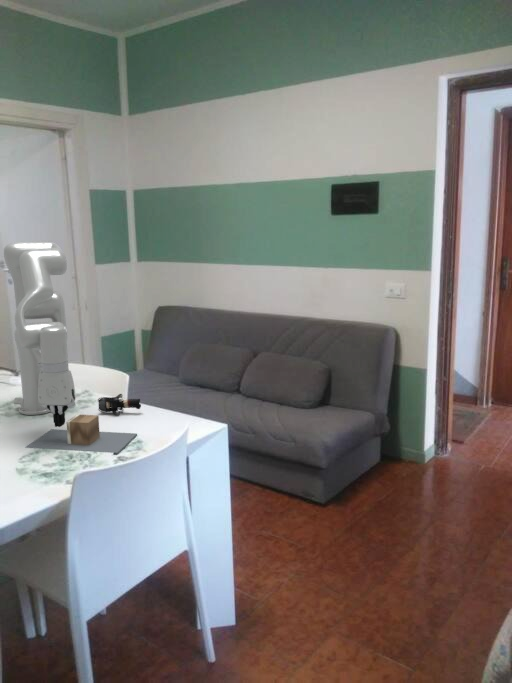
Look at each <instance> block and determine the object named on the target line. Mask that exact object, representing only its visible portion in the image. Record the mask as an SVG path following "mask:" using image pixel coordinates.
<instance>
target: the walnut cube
mask: <svg viewBox="0 0 512 683" xmlns="http://www.w3.org/2000/svg"><path fill="white" fill-rule="evenodd" d="M65 422H66V430H67V438H68V444H78V445H91V444H92V443H93V442H94V441H95V440H97V439H98V438H99V437H100V433H99V432H100V420H99V415H94V414H79V413H78V414H76V415H74V416H73V417H71V418H69V419H68V420H67V421H65Z"/></svg>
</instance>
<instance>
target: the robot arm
mask: <svg viewBox="0 0 512 683" xmlns="http://www.w3.org/2000/svg"><path fill="white" fill-rule="evenodd" d="M3 257H4V262H5V265H6V268H7V270H8V272H9V274H10V276H11V278H12V279H11V280H12V281H13V290H14V298H15V300H14V301H15V314H14V321H15V322H14V324H15V330H14V333H13V334H14V341H15V346H16V349H17V353H18V360H19V370H20V379H21V382H20V383H21V391H22V397H15V398H14V401H13V404H14V405H20V407H19V409H18V411H19V413H20V414H22V415H25V416H35V415H36V416H37V415H43V414H47V413H50V414H51V415H52V418H53V424H54V427H58V428H61V427H62V426H63V425H65V422H66V413H65V412H66V411H67V410H69V409H73V408H75V407H76V388H75V383H74V377H73V375H72V371H71V370H69V369H70V368H69V356H68V354H69V353H68V343H67V342H68V331H67V328H68V327H67V318H66V308H65V301H64V299H63V296H62V294H61V293H59V291H55V290H54V288H53V283H52V279H51V276H61V275H62V276H63V275H64V274H65V273H67V269H68V262H67V259H66V255H65V253H64V251H63V250H62V248H61V247H60V246H59V245H58V244H57V243H56V242H53V241H16V242H10V243H8V244H6V245H5V246H4V248H3ZM40 319H50V320H51V321H48V322H47V321H45V322H32V323H26V320H40Z"/></svg>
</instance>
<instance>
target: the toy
mask: <svg viewBox="0 0 512 683" xmlns="http://www.w3.org/2000/svg"><path fill="white" fill-rule="evenodd" d="M97 403H98V411H99V412H100V413H112V414H114V416H115V417H117V416H120V414H121V412H123V411H124V409H130V408H131V409H134V408H135V409H136V410H140V409H141V407H142V405H141V398H130V399H123V394H122V393H119V394H118V395H116V396H115V397H113V396H112V397H108V396H107V397H104V396H101V397H98V399H97Z"/></svg>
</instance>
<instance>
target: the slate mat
mask: <svg viewBox="0 0 512 683" xmlns="http://www.w3.org/2000/svg"><path fill="white" fill-rule="evenodd" d="M99 433H100V437H99V438H98V439H97V440H95V441H94V442H93V443H92V444H91V445H78V444H68V438H67V429H52V428H51V429H50V430H48V431H47V432H45V433H44V434H42V435H40V436H39V437H38V438H37V439H35V440H33V441H32V442H31V443H29V444H27V445H25V446H24V448H25V449H42V450H45V449H46V450H60V451H78V452H94V453H95V452H96V453H111V454H112V455H114V456H115V455H116V456H117V455H119V454H120V453H121V452H122V451H123V450H124V449H125V448H126V447H127V446H128V445H129V444H130V443H131V442H132V441H133V440H134V439H135V438H136V437H137V436H138V433H133V432H132V433H131V432H111V431H99Z"/></svg>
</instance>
